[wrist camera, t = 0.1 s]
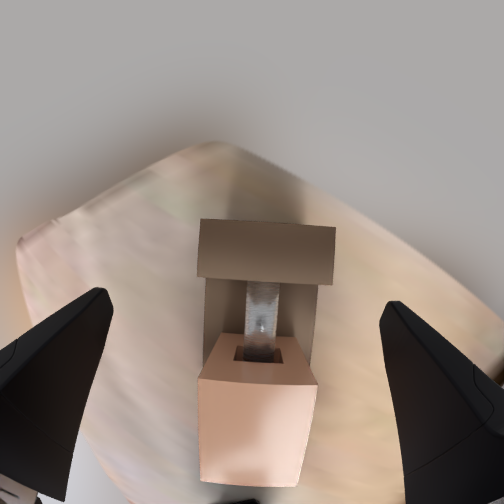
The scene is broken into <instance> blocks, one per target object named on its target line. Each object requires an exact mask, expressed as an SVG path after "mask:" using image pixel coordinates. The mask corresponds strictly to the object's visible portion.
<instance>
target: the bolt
mask: <svg viewBox="0 0 504 504" xmlns="http://www.w3.org/2000/svg"><path fill="white" fill-rule="evenodd" d="M279 289H280V283H278V282H261V281H247V296H246V312H245V328H244V344H243V361H244V362H259V363H273V362H274V351H275V339H276V328H277V315H278V302H279Z"/></svg>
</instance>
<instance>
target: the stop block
mask: <svg viewBox="0 0 504 504" xmlns="http://www.w3.org/2000/svg"><path fill="white" fill-rule="evenodd" d="M335 234H336V227H326V226H313V225H300V224H286V223H271V222H255V221H238V220H219V219H201V220H200V233H199V247H198V263H197V277H205V278H206V288H205V311H204V341H203V367H204V365H205V363H206V361H207V359H208V357H209V355H210V353H211V352H212V350H213V348H214V346H215V344H216V342H217V340H218V338H219V336H220V334H221V332H222V333H233V334H244V328H245V312H246V296H247V281H261V282H278V283H280V289H279V302H278V315H277V328H276V336H281V337H296V338H297V340H298V343H299V345H300V347H301V349H302V351H303V353H304V356H305V358H306V360H307V362H308V364H309V366H310V359H311V351H312V343H313V334H314V325H315V315H316V304H317V293H318V285H332V284H333V271H334V255H335Z"/></svg>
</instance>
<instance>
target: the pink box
mask: <svg viewBox="0 0 504 504" xmlns="http://www.w3.org/2000/svg"><path fill="white" fill-rule="evenodd" d="M243 344H244V334H233V333H222V332H221V334H220V336H219V338H218V340H217V342H216V344H215V346H214V348H213V350H212V352H211V353H210V355H209V357H208V359H207V361H206V363H205V365H204V367H203V369H202V371H201V373H200V375H199V377H198V433H199V460H200V479H201V481H204V482H212V483H220V484H229V485H241V486H260V487H295V486H297V484H298V480H299V476H300V472H301V468H302V464H303V459H304V455H305V451H306V446H307V442H308V437H309V432H310V427H311V422H312V417H313V412H314V406H315V401H316V395H317V389H318V384H317V382H316V380H315V377H314V375H313V373H312V371H311V369H310V366H309V364H308V362H307V360H306V358H305V356H304V353H303V351H302V349H301V347H300V345H299V343H298V340H297V338H296V337H281V336H276V339H275V351H274V362H273V363H259V362H244V361H243Z"/></svg>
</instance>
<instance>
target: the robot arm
mask: <svg viewBox="0 0 504 504" xmlns="http://www.w3.org/2000/svg"><path fill="white" fill-rule="evenodd" d="M112 316H113V305H112V302H111V300H110V297H109V294H108V291H107V290H106V289H105V288H99V287H95V288H93V289H91V290H89V291H88V292H86V293H85V294H83V295H82V296H80V297H78V298H77V299H75V300H74V301H72V302H71V303H69V304H68V305H66V306H64V307H63V308H61V309H60V310H58V311H57V312H55V313H54V314H52V315H51V316H49V317H48V318H46V319H45V320H43V321H42V322H40V323H39V324H37V325H36V326H34V327H33V328H32V329H30V330H29V331H27V332H26V333H24V334H23V335H22V336H20V337H19V338H18V339H16V340H14V341H13V342H11V343H10V344H9V345H7V346H6V347H4V348H3V349H1V350H0V504H42V502H41V500H40V498H39V497H37V495H38V492H39V493H41V494H44V495H46V496H49V497H51V498H54V499H56V500H59V501H62V502H64V501H65V496H66V490H67V483H68V478H69V472H70V467H71V462H72V458H73V452H74V448H75V443H76V439H77V435H78V431H79V427H80V424H81V420H82V416H83V413H84V409H85V406H86V402H87V399H88V395H89V392H90V389H91V386H92V383H93V380H94V377H95V374H96V371H97V368H98V365H99V362H100V359H101V356H102V353H103V350H104V346H105V342H106V338H107V334H108V331H109V327H110V323H111V320H112ZM379 327H380V334H381V340H382V347H383V355H384V362H385V368H386V373H387V378H388V382H389V387H390V391H391V396H392V401H393V406H394V412H395V417H396V423H397V429H398V435H399V442H400V449H401V456H402V464H403V474H404V486H405V500H406V504H504V389H503V388H501V387H500V386H499V385H498V384H497V383H495V382H494V381H493V380H492V379H491V378H489V377H488V376H487V375H486V374H485V373H484V372H483V371H482V370H480V369H479V368H478V367H477V366H476V365H475V364H473V362H472V361H470V360H469V359H468V358H467V357H466V356H465V355H464V354H463V353H461V352H460V351H459V350H458V349H457V348H456V347H455V346H454V345H452V344H451V343H450V342H449V341H448V340H447V339H445V338H444V337H443V336H442V335H441V334H440V333H438V332H437V331H436V330H435V329H434V328H432V327H431V326H430V325H429V324H428V323H426V322H425V321H424V320H423V319H422V318H420V317H419V316H418V315H417V314H416V313H414V312H413V311H412V310H411V309H409V308H408V307H407V306H406V305H404V304H403V303H402V302H401V301H389V302H388V303H387V304H386V306H385V309H384V311H383V314H382V316H381V318H380V322H379ZM232 504H260V503H259V502H258V501H257V500H255V499H251V500H247V501H242V502H237V503H232Z"/></svg>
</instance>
